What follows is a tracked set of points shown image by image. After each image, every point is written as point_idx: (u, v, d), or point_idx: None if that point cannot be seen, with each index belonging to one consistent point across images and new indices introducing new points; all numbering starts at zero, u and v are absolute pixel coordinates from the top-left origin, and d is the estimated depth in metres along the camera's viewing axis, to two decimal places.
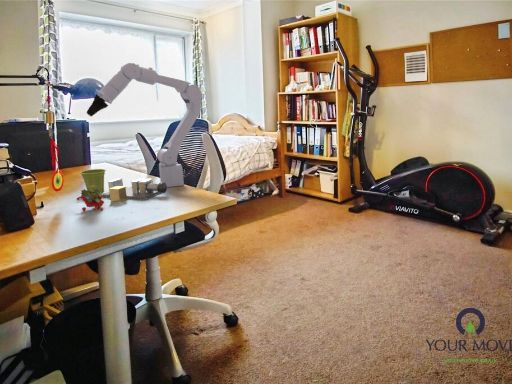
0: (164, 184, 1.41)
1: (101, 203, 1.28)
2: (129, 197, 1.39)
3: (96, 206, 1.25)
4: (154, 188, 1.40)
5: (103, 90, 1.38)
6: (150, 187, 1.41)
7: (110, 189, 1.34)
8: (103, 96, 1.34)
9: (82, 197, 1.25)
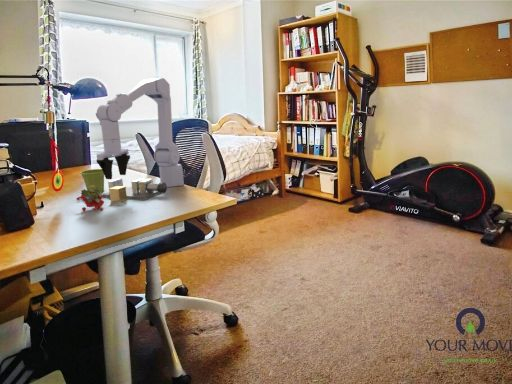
0: (164, 184, 1.41)
1: (101, 203, 1.28)
2: (129, 197, 1.39)
3: (96, 206, 1.25)
4: (154, 188, 1.40)
5: (104, 149, 1.31)
6: (150, 187, 1.41)
7: (110, 189, 1.34)
8: (98, 157, 1.26)
9: (82, 197, 1.25)
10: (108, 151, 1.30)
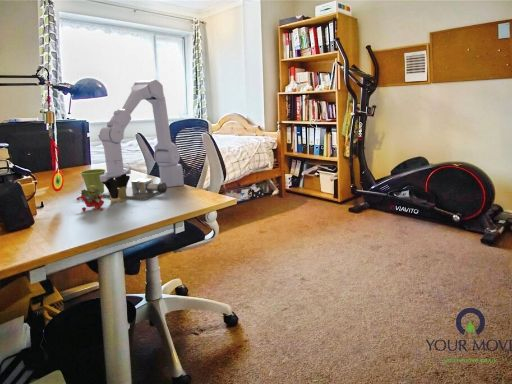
0: (164, 184, 1.41)
1: (101, 203, 1.28)
2: (129, 197, 1.39)
3: (96, 206, 1.25)
4: (154, 188, 1.40)
5: None
6: (150, 187, 1.41)
7: None
8: (100, 179, 1.28)
9: (82, 197, 1.25)
10: (111, 172, 1.32)
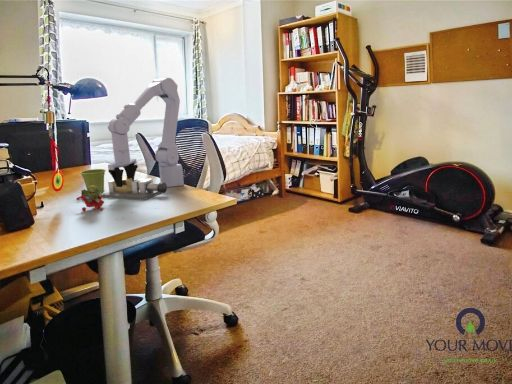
0: (164, 184, 1.41)
1: (101, 203, 1.28)
2: (129, 197, 1.39)
3: (96, 206, 1.25)
4: (154, 188, 1.40)
5: None
6: (150, 187, 1.41)
7: None
8: (109, 167, 1.38)
9: (82, 197, 1.25)
10: (118, 161, 1.41)
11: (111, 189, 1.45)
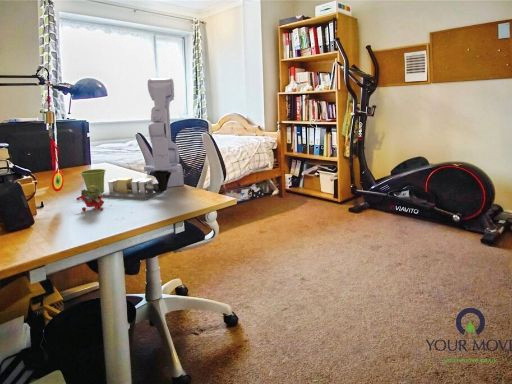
0: None
1: (101, 203, 1.28)
2: (129, 197, 1.39)
3: (96, 206, 1.25)
4: (150, 188, 1.41)
5: (163, 164, 1.36)
6: (146, 187, 1.41)
7: (118, 180, 1.44)
8: (178, 170, 1.36)
9: (82, 197, 1.25)
10: (168, 165, 1.38)
11: (111, 189, 1.45)
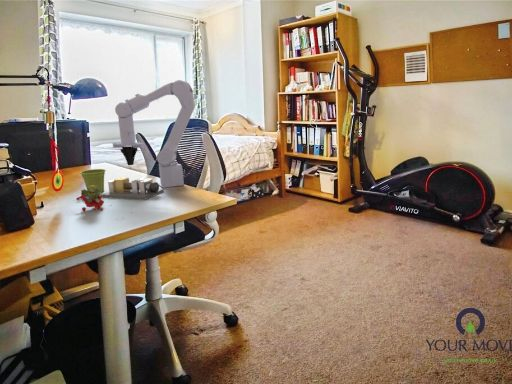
0: (156, 184, 1.42)
1: (101, 203, 1.28)
2: (129, 197, 1.39)
3: (96, 206, 1.25)
4: (146, 188, 1.41)
5: (129, 141, 1.53)
6: None
7: (114, 180, 1.45)
8: (142, 146, 1.53)
9: (82, 197, 1.25)
10: (134, 142, 1.55)
11: (111, 189, 1.45)
